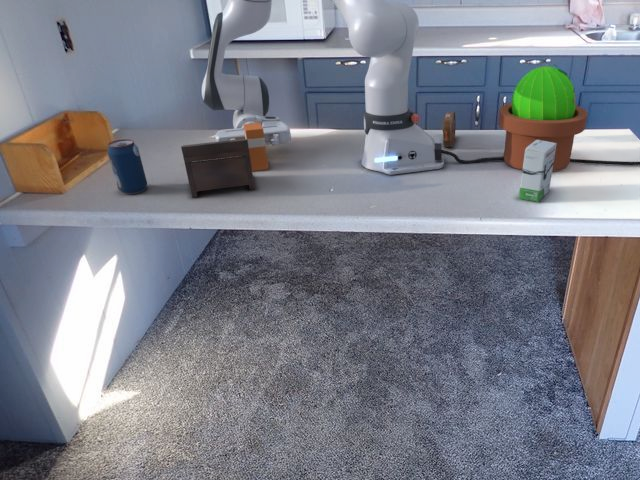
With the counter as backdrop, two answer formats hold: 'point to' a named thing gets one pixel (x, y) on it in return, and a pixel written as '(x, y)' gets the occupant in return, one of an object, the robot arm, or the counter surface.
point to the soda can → (127, 166)
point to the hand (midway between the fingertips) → (256, 144)
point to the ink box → (537, 170)
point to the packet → (256, 146)
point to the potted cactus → (542, 116)
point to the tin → (449, 129)
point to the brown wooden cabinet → (218, 165)
